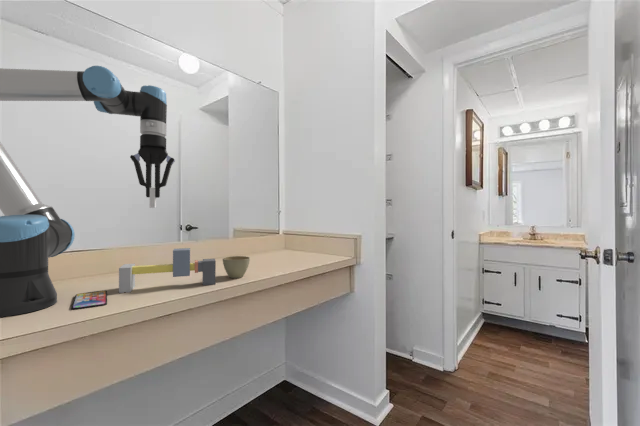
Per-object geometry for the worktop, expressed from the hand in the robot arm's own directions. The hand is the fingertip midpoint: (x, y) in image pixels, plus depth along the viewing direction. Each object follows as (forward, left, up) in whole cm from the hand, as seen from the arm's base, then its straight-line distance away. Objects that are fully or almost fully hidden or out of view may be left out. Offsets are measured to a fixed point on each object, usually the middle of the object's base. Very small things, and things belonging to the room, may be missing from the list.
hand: (152, 207), depth 98 cm
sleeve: (+9, -3, -22) cm, 24 cm away
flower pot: (+27, +4, -26) cm, 38 cm away
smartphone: (-14, -12, -26) cm, 32 cm away
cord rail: (+5, -3, -26) cm, 27 cm away
